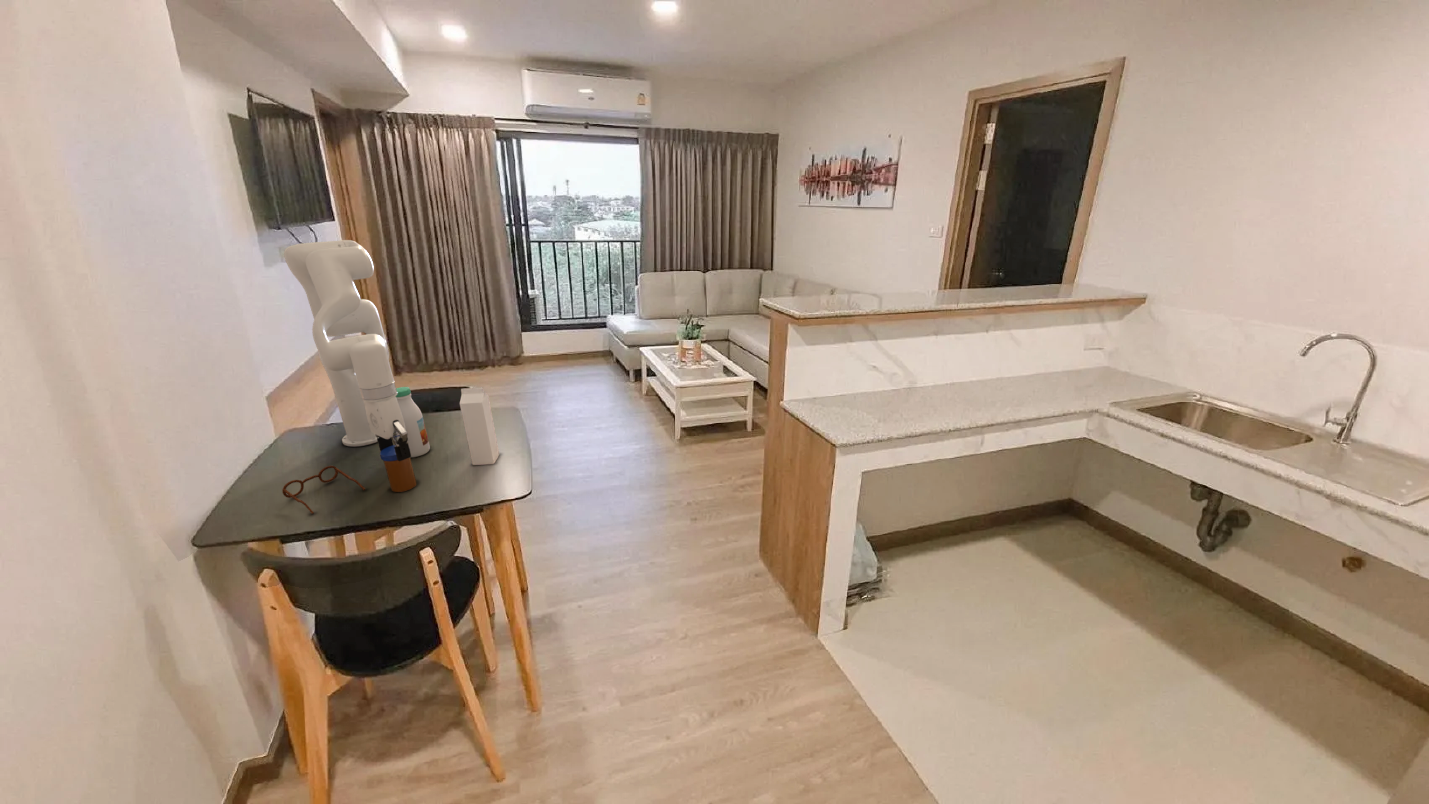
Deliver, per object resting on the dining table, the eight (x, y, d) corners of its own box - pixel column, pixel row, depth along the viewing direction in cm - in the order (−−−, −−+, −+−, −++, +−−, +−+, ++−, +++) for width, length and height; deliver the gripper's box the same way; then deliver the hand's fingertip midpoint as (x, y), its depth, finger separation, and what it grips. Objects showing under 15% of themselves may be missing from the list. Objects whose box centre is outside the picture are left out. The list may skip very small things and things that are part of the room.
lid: (376, 456, 142) (374, 451, 142) (402, 446, 147) (401, 441, 147) (388, 463, 139) (387, 458, 138) (415, 453, 144) (414, 448, 143)
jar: (387, 487, 146) (377, 453, 142) (409, 478, 150) (400, 444, 146) (398, 494, 142) (388, 459, 139) (421, 484, 147) (412, 450, 143)
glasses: (339, 478, 151) (333, 462, 149) (366, 490, 145) (361, 473, 143) (285, 501, 140) (278, 484, 139) (311, 515, 134) (305, 497, 132)
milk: (478, 455, 162) (464, 384, 154) (500, 454, 162) (486, 383, 154) (472, 465, 156) (456, 392, 148) (494, 464, 157) (480, 391, 148)
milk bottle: (418, 459, 160) (402, 394, 153) (395, 457, 162) (378, 393, 154) (436, 447, 167) (421, 385, 160) (413, 445, 169) (398, 383, 161)
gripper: (346, 389, 138) (365, 451, 145) (379, 403, 129) (397, 469, 135) (378, 380, 144) (394, 441, 150) (411, 393, 134) (427, 457, 141)
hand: (395, 454), depth 143 cm, fingers open, 8 cm apart
